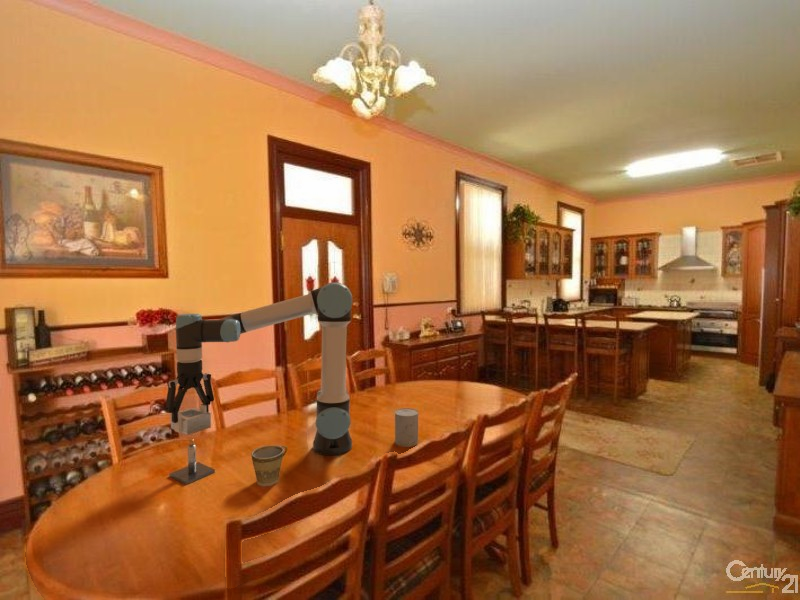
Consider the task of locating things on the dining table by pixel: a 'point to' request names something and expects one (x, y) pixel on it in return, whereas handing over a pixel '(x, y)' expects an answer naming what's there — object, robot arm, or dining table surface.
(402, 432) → the gray cylinder
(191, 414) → the grey block with hole
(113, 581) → the dining table surface
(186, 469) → the keeper
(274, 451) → the ceramic cup
